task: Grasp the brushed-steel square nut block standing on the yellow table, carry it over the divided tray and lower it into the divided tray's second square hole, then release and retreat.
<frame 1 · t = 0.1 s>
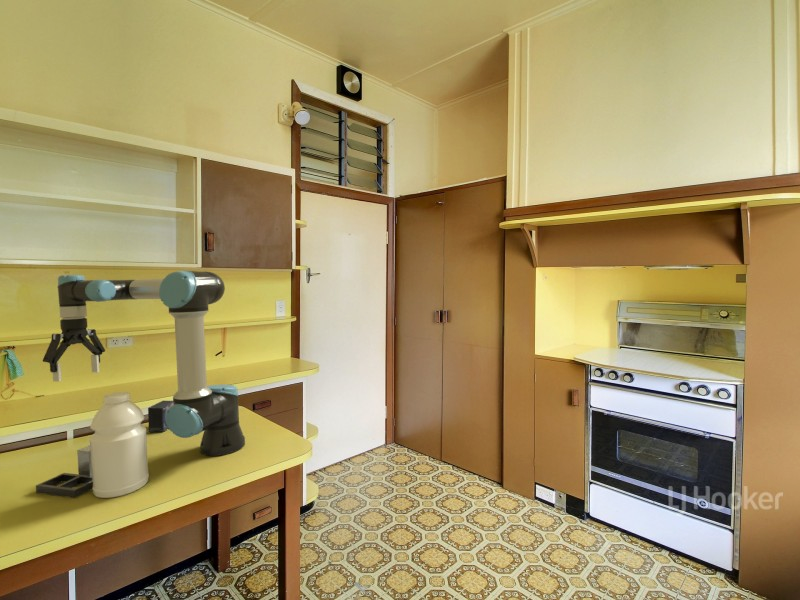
hand: (77, 376, 145), 28 cm above the table, fingers open, 13 cm apart
divided tray: (69, 488, 121), on the table
small box: (163, 428, 170), on the table
bottle: (121, 487, 121), on the table
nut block: (91, 475, 129), on the table
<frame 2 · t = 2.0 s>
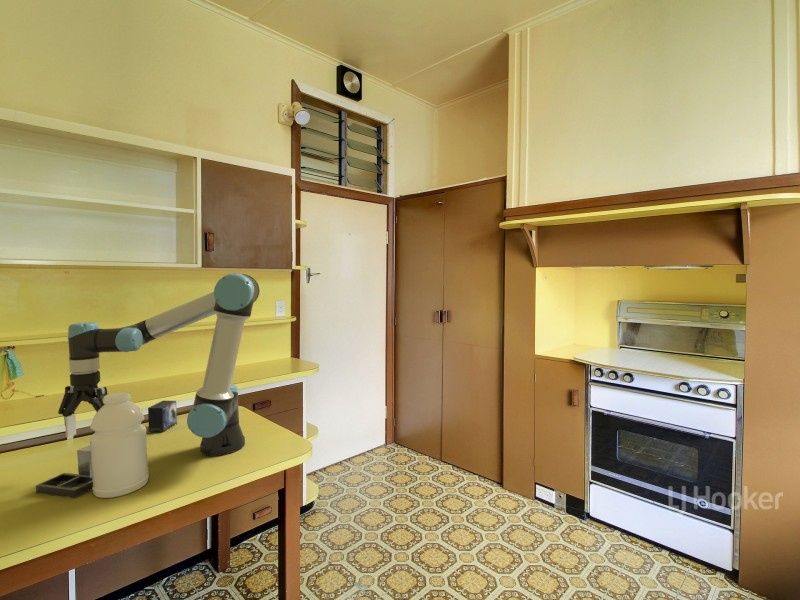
hand: (87, 437, 128), 12 cm above the table, fingers open, 13 cm apart
nothing on the table moved.
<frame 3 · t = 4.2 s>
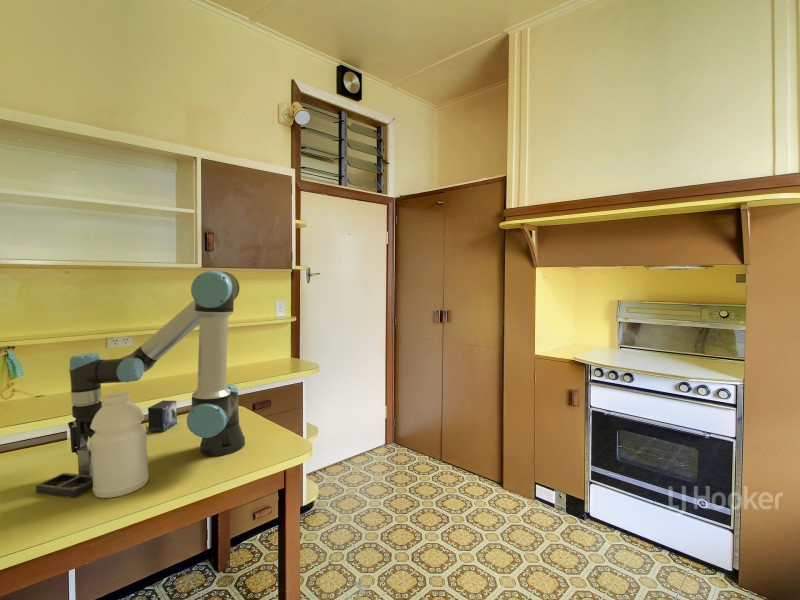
hand: (91, 474, 129), 0 cm above the table, fingers closed on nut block, 4 cm apart
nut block: (91, 475, 129), on the table, touching gripper
everything else where it was.
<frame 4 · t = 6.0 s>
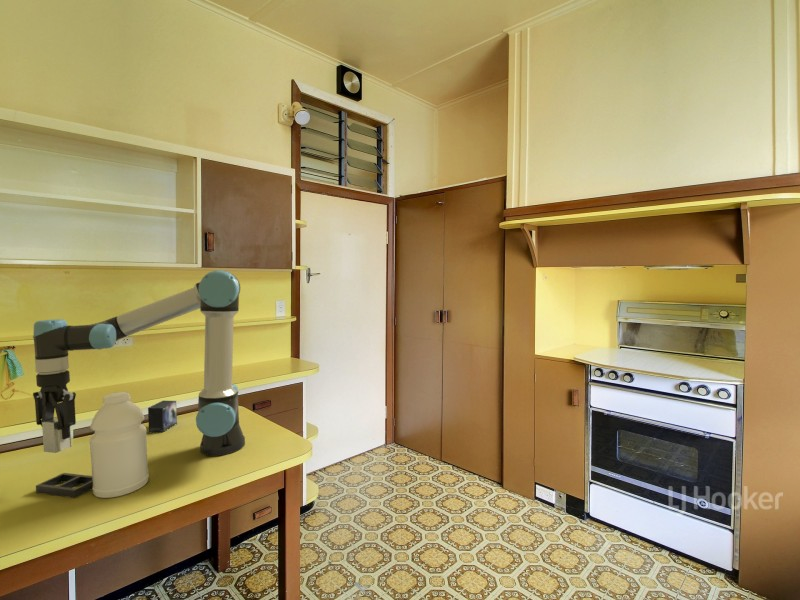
hand: (57, 448, 121), 12 cm above the table, fingers closed on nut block, 4 cm apart
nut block: (57, 449, 121), point 12 cm above the table, touching gripper
everything else where it was.
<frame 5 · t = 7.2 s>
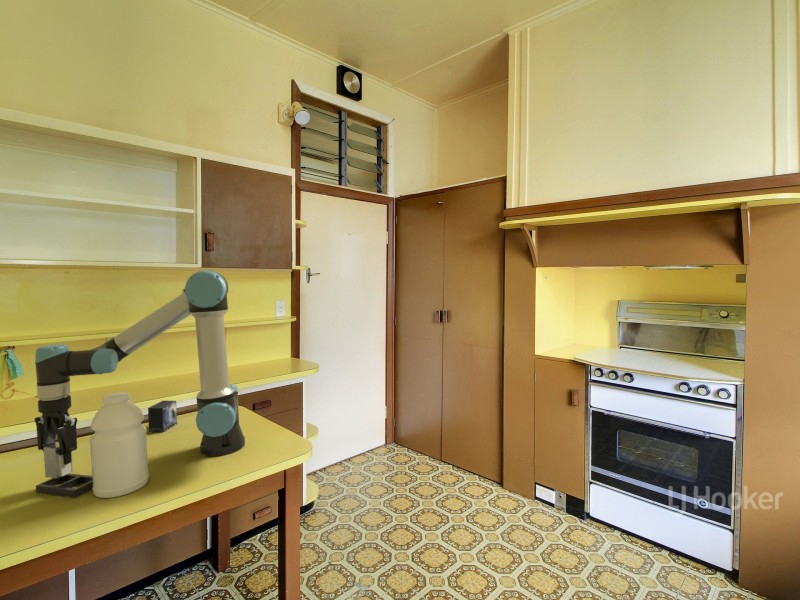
hand: (59, 473, 121), 4 cm above the table, fingers closed on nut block, 4 cm apart
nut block: (59, 474, 121), point 4 cm above the table, touching gripper
everything else where it was.
when the fingers open (3 cm above the table, at t = 8.1 s): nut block drops 3 cm, resting in divided tray.
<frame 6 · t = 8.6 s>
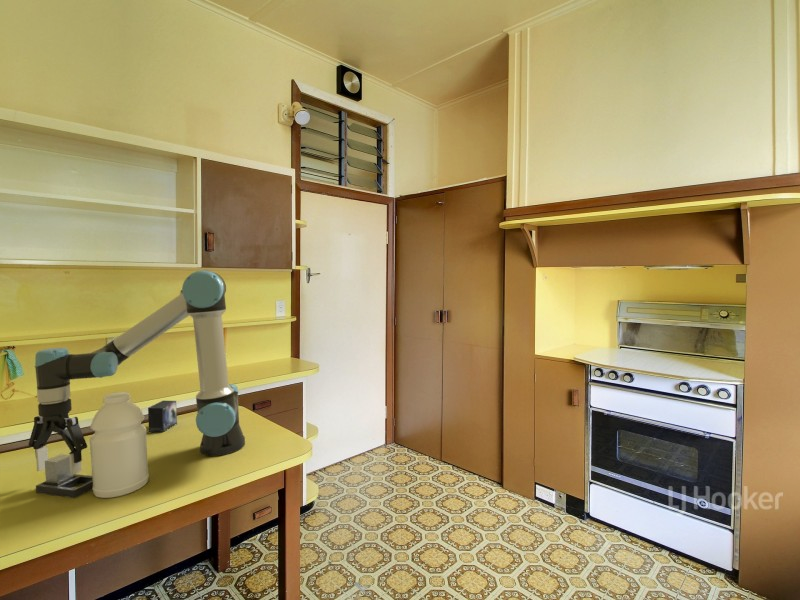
hand: (59, 471, 121), 5 cm above the table, fingers open, 12 cm apart
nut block: (60, 487, 121), resting in divided tray
everything else where it was.
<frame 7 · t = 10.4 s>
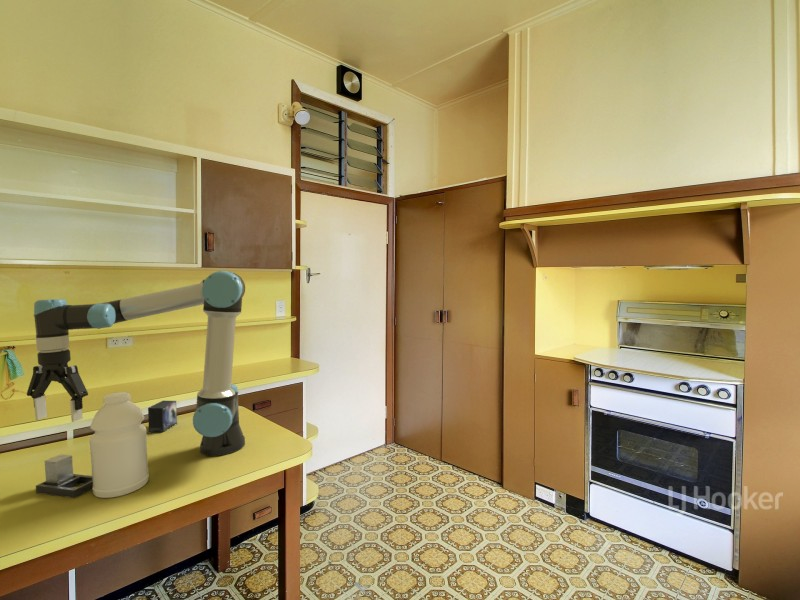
hand: (59, 419, 123), 20 cm above the table, fingers open, 13 cm apart
nothing on the table moved.
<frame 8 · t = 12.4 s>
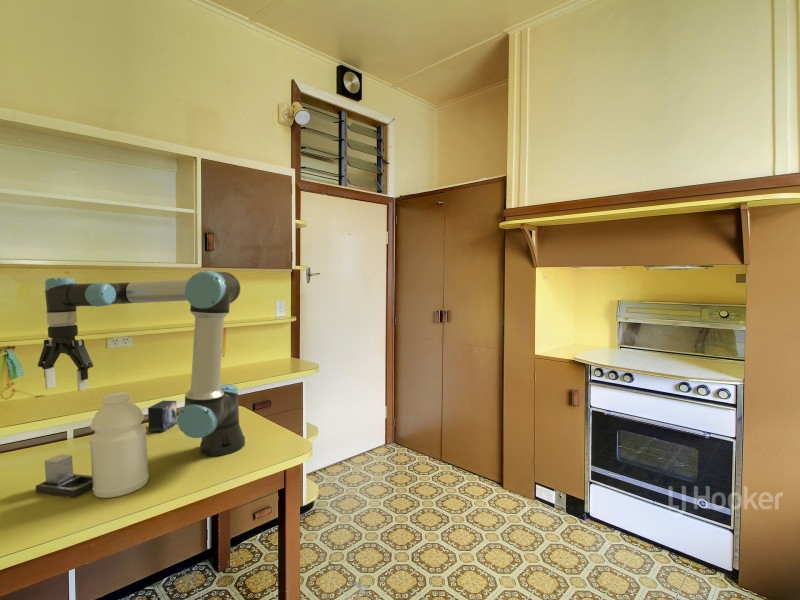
hand: (66, 388, 133), 27 cm above the table, fingers open, 13 cm apart
nothing on the table moved.
at the end: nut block 0.1 cm from the target spot on the divided tray, point 0.0 cm above the divided tray's base; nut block tilted 0°; the gripper is holding nothing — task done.
